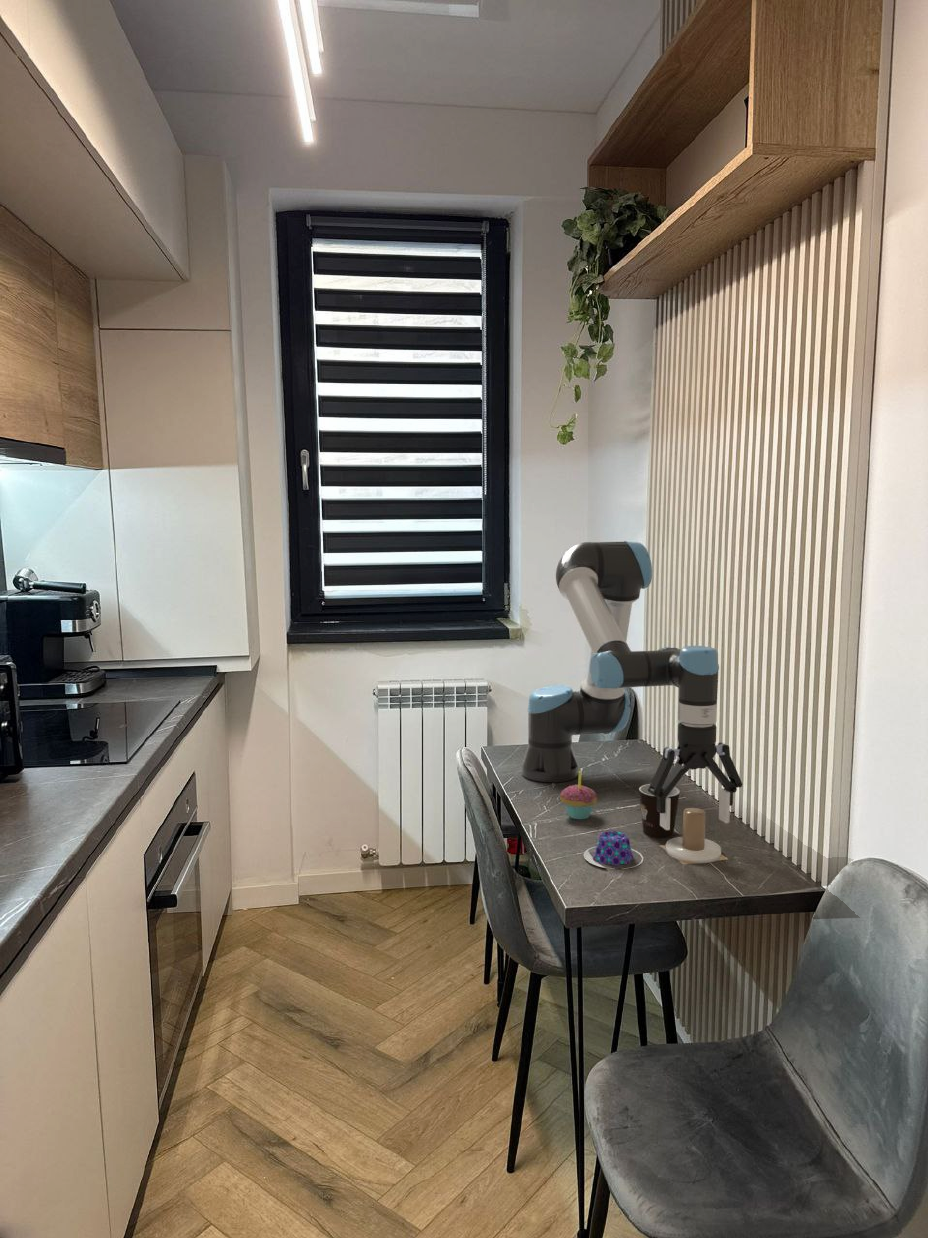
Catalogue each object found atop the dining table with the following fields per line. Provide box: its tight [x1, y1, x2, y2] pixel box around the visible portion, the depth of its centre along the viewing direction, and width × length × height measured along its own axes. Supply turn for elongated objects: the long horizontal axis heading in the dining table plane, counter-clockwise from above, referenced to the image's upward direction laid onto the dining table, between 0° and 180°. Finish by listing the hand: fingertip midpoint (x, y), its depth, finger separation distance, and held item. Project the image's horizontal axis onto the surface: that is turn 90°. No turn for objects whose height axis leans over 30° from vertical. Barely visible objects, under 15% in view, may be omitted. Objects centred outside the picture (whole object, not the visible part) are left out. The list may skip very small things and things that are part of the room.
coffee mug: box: [638, 783, 681, 839], centre depth 185 cm, size 12×9×10 cm
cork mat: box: [659, 844, 729, 866], centre depth 174 cm, size 10×10×1 cm
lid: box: [665, 807, 722, 864], centre depth 173 cm, size 11×11×9 cm
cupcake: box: [559, 768, 598, 820], centre depth 195 cm, size 9×8×12 cm
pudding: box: [583, 830, 644, 870], centre depth 172 cm, size 12×12×5 cm
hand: (694, 824), depth 173 cm, fingers open, 13 cm apart
